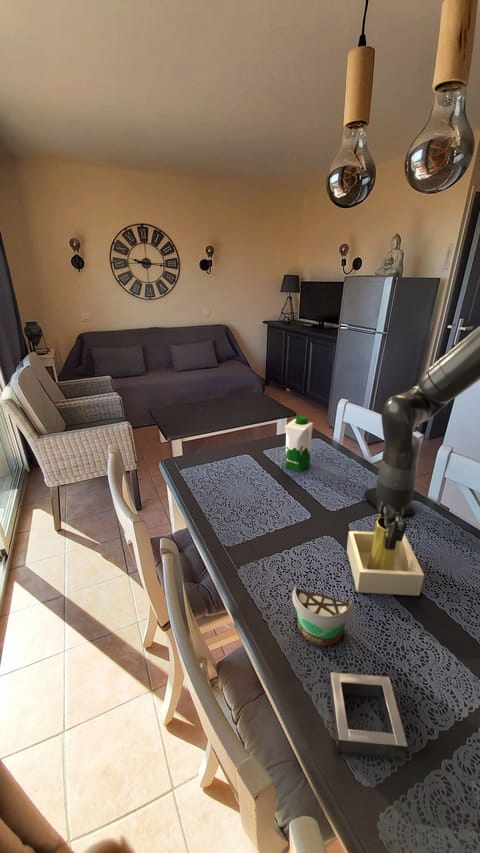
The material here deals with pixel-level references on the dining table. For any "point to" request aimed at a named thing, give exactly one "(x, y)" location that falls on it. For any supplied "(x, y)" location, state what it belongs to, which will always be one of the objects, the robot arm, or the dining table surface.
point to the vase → (381, 549)
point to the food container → (320, 616)
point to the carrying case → (374, 499)
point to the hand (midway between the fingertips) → (385, 539)
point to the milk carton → (298, 443)
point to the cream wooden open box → (383, 581)
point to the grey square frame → (367, 740)
